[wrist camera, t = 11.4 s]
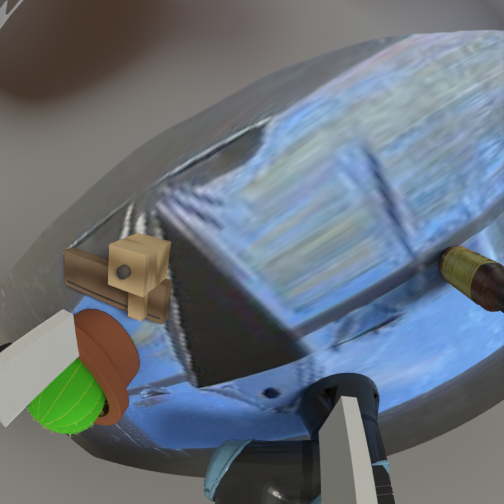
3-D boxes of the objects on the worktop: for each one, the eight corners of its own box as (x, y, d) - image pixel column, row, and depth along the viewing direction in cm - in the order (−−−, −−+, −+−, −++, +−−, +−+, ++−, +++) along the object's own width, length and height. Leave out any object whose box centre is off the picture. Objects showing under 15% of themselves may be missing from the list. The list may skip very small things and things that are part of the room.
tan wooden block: (163, 311, 43) (138, 338, 35) (133, 301, 44) (105, 324, 35) (171, 241, 40) (142, 257, 31) (138, 232, 40) (105, 245, 32)
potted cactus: (169, 383, 48) (114, 478, 24) (100, 385, 52) (45, 451, 28) (116, 285, 43) (15, 358, 19) (55, 307, 48) (-22, 359, 24)
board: (168, 317, 43) (162, 324, 41) (73, 280, 45) (65, 284, 42) (172, 280, 42) (165, 286, 39) (72, 247, 43) (64, 250, 40)
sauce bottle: (469, 262, 34) (545, 310, 15) (446, 287, 36) (516, 348, 17) (454, 234, 34) (539, 272, 15) (430, 260, 35) (508, 315, 16)
